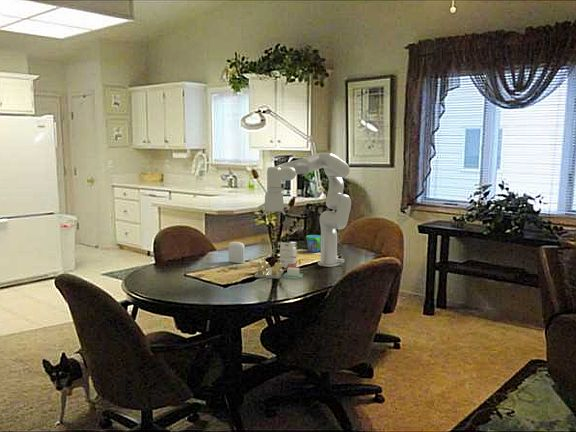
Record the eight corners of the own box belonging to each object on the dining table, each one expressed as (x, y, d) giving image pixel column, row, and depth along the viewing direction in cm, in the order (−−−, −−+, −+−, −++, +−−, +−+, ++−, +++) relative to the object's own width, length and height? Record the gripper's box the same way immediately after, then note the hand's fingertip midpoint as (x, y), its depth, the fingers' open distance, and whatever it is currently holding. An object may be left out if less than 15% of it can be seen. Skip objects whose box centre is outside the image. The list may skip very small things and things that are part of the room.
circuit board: (286, 273, 308) (286, 265, 308) (304, 274, 307) (304, 266, 306) (282, 279, 297) (282, 270, 296) (300, 280, 295) (301, 271, 294)
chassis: (260, 270, 312) (260, 258, 311) (283, 272, 310) (283, 259, 309) (255, 277, 298) (255, 264, 297) (279, 278, 296) (279, 265, 295)
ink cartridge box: (296, 267, 321) (297, 242, 319) (292, 269, 317) (293, 243, 315) (283, 265, 325) (283, 240, 323) (279, 267, 321) (279, 242, 319)
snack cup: (302, 249, 373) (303, 234, 371) (318, 248, 375) (318, 233, 374) (309, 254, 358) (309, 238, 356) (325, 253, 360) (325, 237, 359)
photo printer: (227, 262, 333) (227, 241, 331) (231, 260, 337) (231, 240, 335) (241, 264, 328) (241, 243, 326) (245, 262, 332) (245, 242, 330)
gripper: (289, 189, 303) (289, 220, 305) (257, 189, 301) (257, 221, 303) (291, 190, 295) (290, 223, 298) (258, 191, 294) (258, 223, 296)
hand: (274, 222), depth 301 cm, fingers open, 9 cm apart
